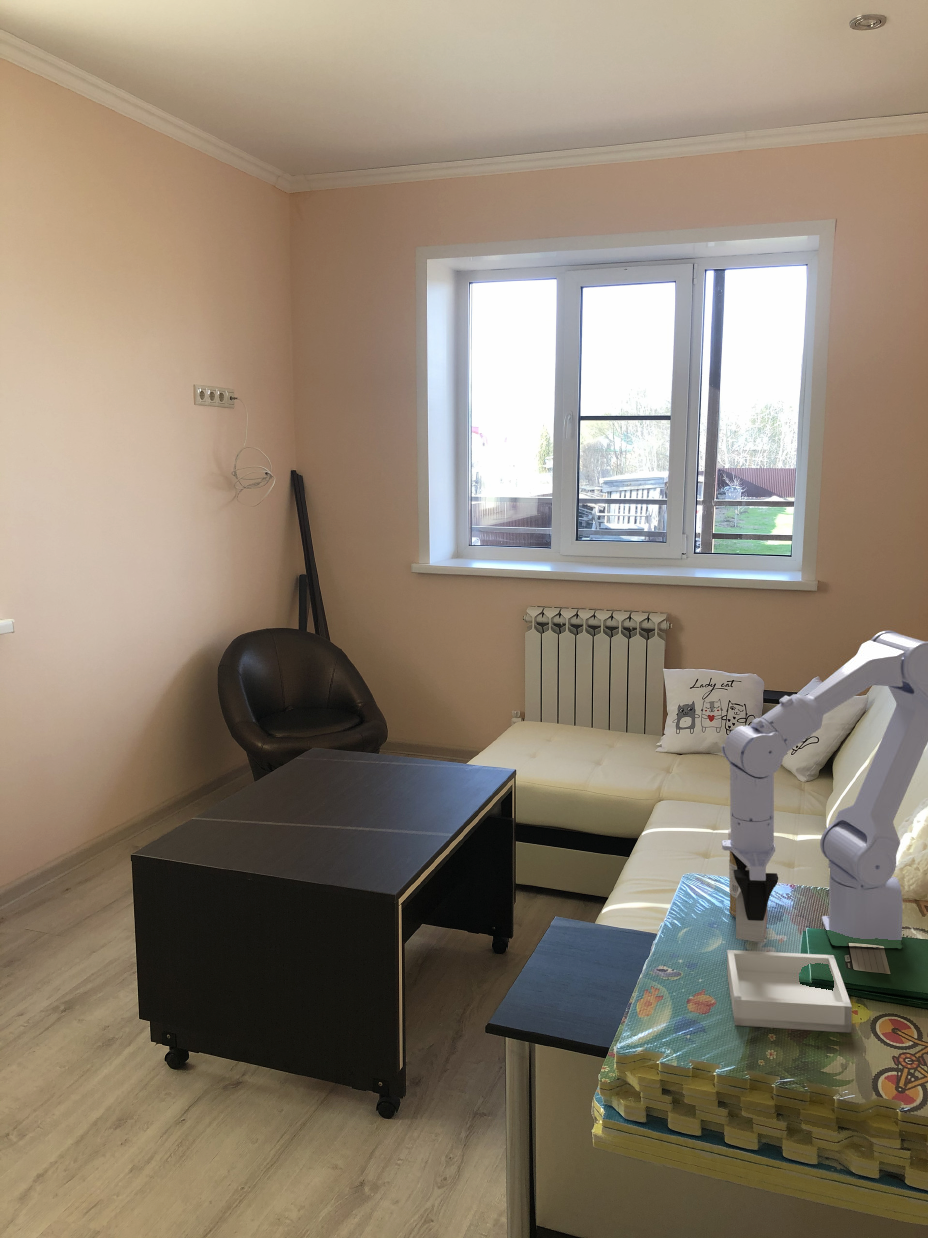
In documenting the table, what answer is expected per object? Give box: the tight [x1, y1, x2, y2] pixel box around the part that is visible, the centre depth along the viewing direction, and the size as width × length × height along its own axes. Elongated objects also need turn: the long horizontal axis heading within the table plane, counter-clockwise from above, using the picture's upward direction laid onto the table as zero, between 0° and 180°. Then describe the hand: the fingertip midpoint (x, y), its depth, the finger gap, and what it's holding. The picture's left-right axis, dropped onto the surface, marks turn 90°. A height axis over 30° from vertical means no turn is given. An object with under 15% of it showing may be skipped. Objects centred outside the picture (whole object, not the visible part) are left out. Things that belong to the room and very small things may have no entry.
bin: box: [726, 949, 853, 1034], centre depth 121 cm, size 14×12×4 cm
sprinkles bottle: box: [727, 827, 739, 918], centre depth 143 cm, size 5×5×14 cm
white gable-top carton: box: [735, 867, 769, 943], centre depth 132 cm, size 4×7×10 cm, turn 158°
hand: (752, 905), depth 132 cm, fingers closed on white gable-top carton, 7 cm apart
